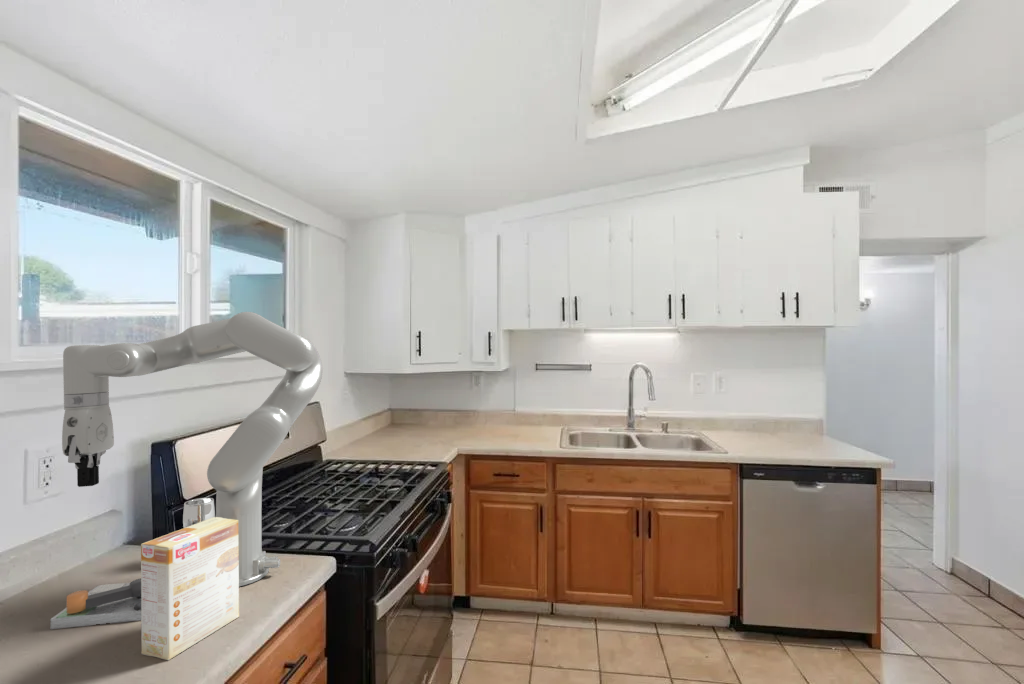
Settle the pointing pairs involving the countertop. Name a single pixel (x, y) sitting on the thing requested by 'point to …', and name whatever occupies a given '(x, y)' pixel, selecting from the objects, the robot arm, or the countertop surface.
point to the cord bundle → (137, 606)
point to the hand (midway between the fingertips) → (88, 485)
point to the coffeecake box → (188, 586)
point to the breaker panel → (100, 611)
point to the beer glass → (198, 511)
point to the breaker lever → (101, 597)
